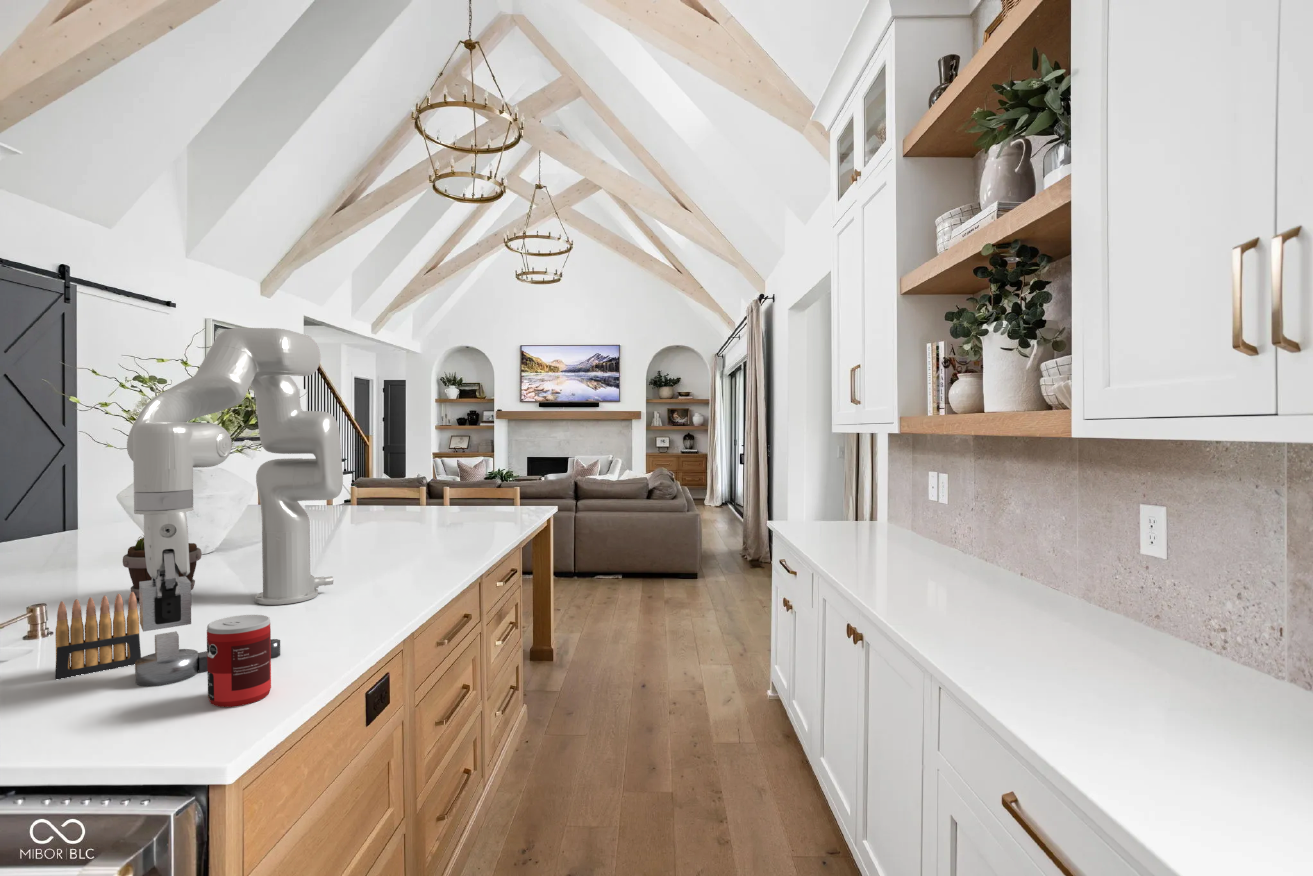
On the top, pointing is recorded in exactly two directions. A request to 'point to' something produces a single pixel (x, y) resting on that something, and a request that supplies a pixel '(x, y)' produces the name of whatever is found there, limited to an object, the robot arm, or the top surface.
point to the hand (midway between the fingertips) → (165, 616)
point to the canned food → (238, 660)
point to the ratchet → (175, 661)
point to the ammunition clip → (96, 638)
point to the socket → (148, 604)
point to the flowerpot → (139, 569)
